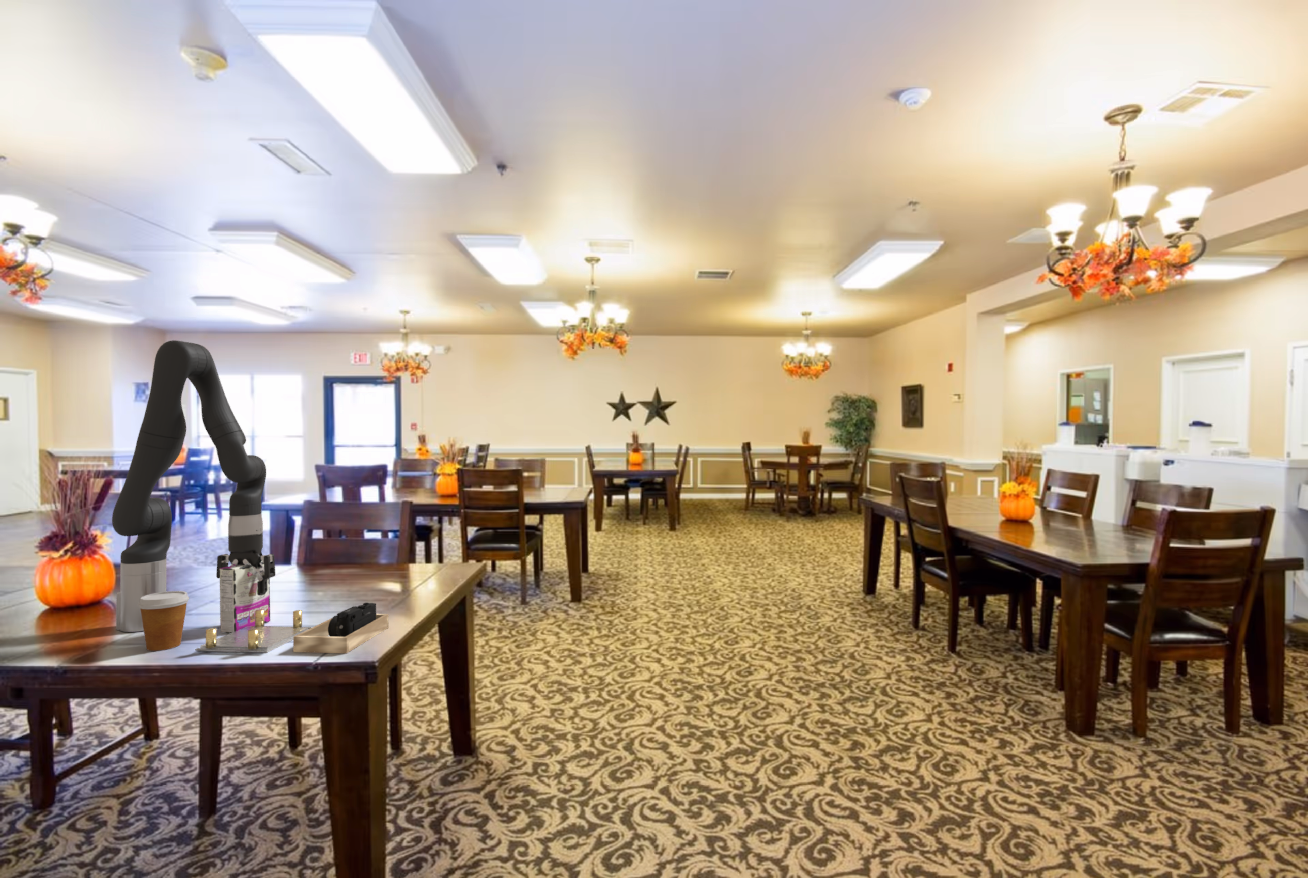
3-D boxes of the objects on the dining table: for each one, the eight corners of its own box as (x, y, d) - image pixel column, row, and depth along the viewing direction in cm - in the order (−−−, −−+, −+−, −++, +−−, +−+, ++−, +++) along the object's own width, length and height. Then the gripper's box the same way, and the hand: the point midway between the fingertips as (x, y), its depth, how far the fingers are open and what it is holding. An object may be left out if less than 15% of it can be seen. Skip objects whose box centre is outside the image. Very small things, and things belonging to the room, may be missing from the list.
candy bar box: (255, 620, 167) (255, 559, 167) (270, 621, 166) (271, 560, 166) (218, 632, 156) (218, 567, 156) (234, 634, 155) (235, 568, 155)
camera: (355, 629, 160) (355, 597, 160) (381, 630, 159) (381, 598, 159) (319, 647, 146) (319, 613, 146) (347, 648, 145) (347, 614, 145)
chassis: (195, 653, 141) (195, 630, 141) (251, 629, 159) (251, 609, 159) (262, 654, 140) (262, 631, 140) (311, 630, 158) (311, 610, 158)
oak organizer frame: (293, 652, 142) (293, 636, 142) (341, 626, 162) (341, 613, 162) (346, 653, 141) (346, 637, 141) (388, 627, 161) (388, 614, 161)
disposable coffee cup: (147, 656, 139) (147, 602, 139) (130, 648, 144) (130, 596, 144) (196, 644, 147) (196, 593, 147) (178, 637, 152) (179, 588, 152)
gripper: (208, 534, 158) (208, 598, 158) (261, 534, 157) (262, 598, 157) (230, 530, 165) (230, 591, 165) (281, 530, 165) (282, 591, 164)
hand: (246, 594), depth 161 cm, fingers open, 8 cm apart
